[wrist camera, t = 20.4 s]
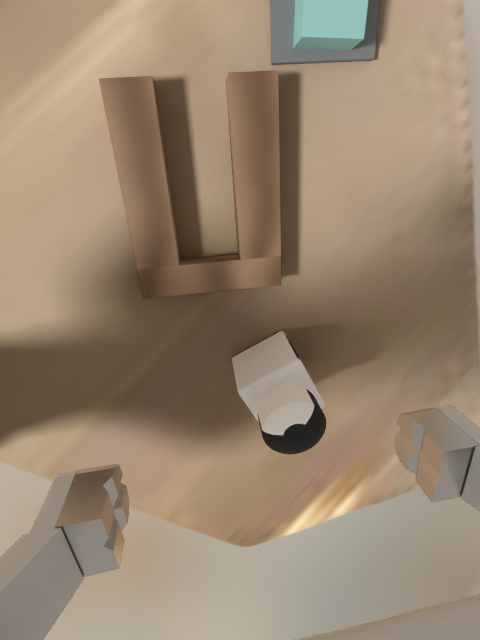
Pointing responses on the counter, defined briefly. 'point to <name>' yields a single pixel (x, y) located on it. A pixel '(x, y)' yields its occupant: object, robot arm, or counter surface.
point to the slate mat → (285, 54)
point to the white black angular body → (280, 395)
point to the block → (329, 24)
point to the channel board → (155, 195)
